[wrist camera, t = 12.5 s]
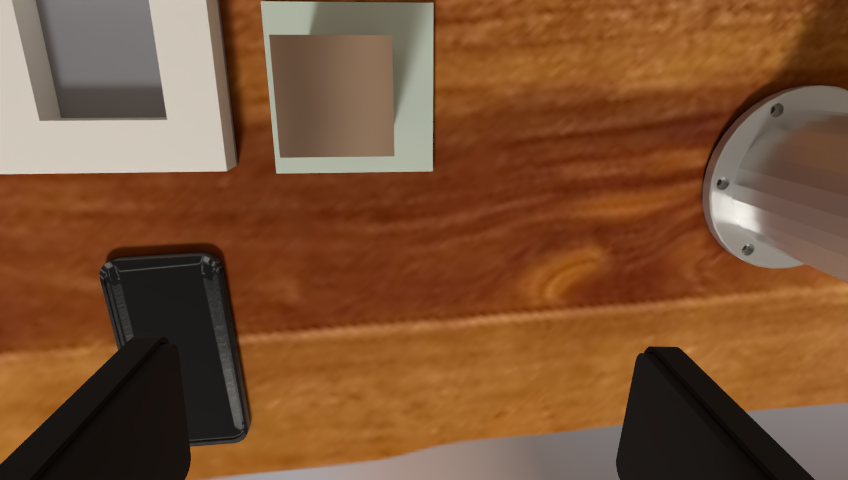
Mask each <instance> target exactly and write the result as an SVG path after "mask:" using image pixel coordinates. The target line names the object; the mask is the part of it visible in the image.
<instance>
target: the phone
mask: <svg viewBox="0 0 848 480" xmlns="http://www.w3.org/2000/svg"><path fill="white" fill-rule="evenodd" d="M99 274H100V281H101V285H102V289H103V293H104V296H105V300H106V304H107V308H108V312H109V316H110V320H111V324H112V328H113V331H114V335H115V339H116V343H117V347H118V350H119V349H120V348H122V347H123V346H124V345H125V344H126V343H127V342H128V341H129V340H130V339H131V338H132V337H134V336H150V337H166V338H167V339H168V340H169V342H170V344H175V345H176V346H177V347H178V351H179V358H180V367H181V375H182V384H183V393H184V401H185V410H186V419H187V427H188V436H189V445H190V447H191V446H203V445H216V444H228V443H236V442H240V441H242V440H243V439H244V438H245V437H246V435H247V433H248V430H249V428H250V419H249V413H248V407H247V401H246V396H245V390H244V384H243V378H242V373H241V367H240V361H239V355H238V350H237V344H236V338H235V332H234V327H233V321H232V315H231V309H230V304H229V298H228V292H227V286H226V281H225V275H224V269H223V265H222V262H221V261H220V260H219V258H218V257H216V256H215V255H213V254H211V253H207V252H196V253H179V254H162V255H145V256H128V257H117V258H114V259H112V260H110V261H109V262H107V263H106V264H104V265H103V267H102V268H101V270H100V273H99Z"/></svg>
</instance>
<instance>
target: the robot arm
mask: <svg viewBox="0 0 848 480" xmlns="http://www.w3.org/2000/svg"><path fill="white" fill-rule="evenodd" d="M702 203H703V209H704V215H705V219H706V222H707V224H708V227H709V229H710V232H711V233H712V234H713V236H714V237H715V239H716V240H717V242H718V243H719V244H720V245H721V246H722V247H723V248H724V249H726V250H727V251H728V252H729V253H730V254H732V255H734V256H736V257H738V258H739V259H741V260H743V261H745V262H748V263H750V264H753V265H755V266H760V267H766V268H790V267H795V266H800V265H804V264H807V265H809V266H811V267H813V268H816V269H818V270H820V271H822V272H825V273H827V274H829V275H831V276H834V277H836V278H838V279H840V280H843V281H845V282H847V283H848V90H846V89H843V88H840V87H833V86H823V85H811V86H799V87H794V88H789V89H785V90H782V91H780V92H777V93H775V94H772V95H770V96H768V97H766V98H764V99H763V100H761V101H760V102H758V103H756V104H755V105H753V106H751V107H750V108H749V109H748V110H747V111H746V112H744V113H743V114H742V115H741V116H740V117H739V118H738V119H736V121H735V122H734V123H733V124H732V125H731V126H730V128H729V129H728V130H727V131H726V132H725V134H724V135H723V136H722V138H721V140H720V141H719V143H718V145H717V146H716V148H715V150H714V151H713V154H712V156H711V159H710V161H709V164H708V166H707V169H706V174H705V178H704V183H703V198H702ZM190 461H191V453H190V445H189V436H188V427H187V419H186V410H185V401H184V393H183V384H182V375H181V367H180V358H179V351H178V347H177V346H176V345H175V344H170V342H169V340H168V339H167V338H166V337H150V336H134V337H132V338H131V339H130V340H129V341H128V342H127V343H126V344H125V345H124V346H123V347H122V348H120V349H119V350H118V351H117V352H116V353H115V354H114V355H113V356H112V357H111V358H110V359H109V360H108V361H107V362H106V363H105V364H104V365H103V366H102V367H101V368H100V369H99V370H98V371H97V372H96V373H95V374H94V375H93V376H91V377H90V378H89V379H88V380H87V381H86V382H85V383H84V384H83V385H82V386H81V387H80V388H79V389H78V390H77V391H76V392H75V393H74V394H73V395H72V396H71V397H70V398H69V399H68V400H67V401H66V402H65V403H64V404H62V405H61V406H60V407H59V408H58V409H57V410H56V411H55V412H54V413H53V414H52V415H51V416H50V417H49V418H48V419H47V420H46V421H45V422H44V423H43V424H42V425H41V426H40V427H39V428H38V429H37V430H36V431H35V432H34V433H32V434H31V435H30V436H29V437H28V438H27V439H26V440H25V441H24V442H23V443H22V444H21V445H20V446H19V447H18V448H17V449H16V450H15V451H14V452H13V453H12V454H11V455H10V456H9V457H8V458H7V459H6V460H5V461H3V462H2V463H1V464H0V480H185V478H186V476H187V474H188V471H189V467H190ZM616 466H617V472H618V476H619V478H620V480H815V479H814V478H813V477H811V475H809V473H807V472H806V471H805V470H804V469H803V468H802V467H801V466H800V465H799V464H798V463H797V462H796V461H795V460H794V459H793V458H792V457H791V456H790V455H789V454H788V453H787V452H786V451H785V450H784V449H783V448H782V447H781V446H780V445H779V444H778V443H777V442H776V441H775V440H774V439H773V438H772V437H771V436H770V435H769V434H767V433H766V432H765V431H764V430H763V429H762V428H761V427H760V426H759V425H758V424H757V423H756V422H755V421H754V420H753V419H752V418H751V417H750V416H749V415H748V414H747V413H746V412H745V411H744V410H743V409H742V408H741V407H740V406H739V405H738V404H737V403H736V402H735V401H734V400H733V399H732V398H731V397H730V396H728V395H727V394H726V393H725V392H724V391H723V390H722V389H721V388H720V387H719V386H718V385H717V384H716V383H715V382H714V381H713V380H712V379H711V378H710V377H709V376H708V375H707V374H706V373H705V372H704V371H703V370H702V369H701V368H700V367H699V366H698V365H697V364H696V363H695V362H694V361H693V360H692V359H691V358H689V357H688V356H687V355H686V354H685V353H684V352H683V351H682V350H681V349H680V348H678V347H648V348H647V349H646V350H645V352H644V353H640V354H639V355H638V356H637V359H636V362H635V367H634V372H633V378H632V383H631V388H630V393H629V398H628V403H627V408H626V413H625V418H624V423H623V428H622V433H621V438H620V443H619V448H618V453H617V459H616Z"/></svg>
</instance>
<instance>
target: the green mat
mask: <svg viewBox="0 0 848 480" xmlns="http://www.w3.org/2000/svg"><path fill="white" fill-rule="evenodd" d="M261 10H262V21H263V32H264V43H265V54H266V65H267V76H268V86H269V97H270V108H271V119H272V130H273V141H274V152H275V163H276V173H342V172H416V171H433V14H434V3H403V2H289V1H261ZM269 35H392V53H393V105H394V156H385V157H302V158H280V152H279V141H278V130H277V119H276V108H275V96H274V85H273V74H272V63H271V52H270V40H269Z"/></svg>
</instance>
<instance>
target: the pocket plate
mask: <svg viewBox="0 0 848 480" xmlns="http://www.w3.org/2000/svg"><path fill="white" fill-rule="evenodd" d="M236 165H238V159H237V150H236V142H235V133H234V124H233V115H232V107H231V98H230V89H229V81H228V72H227V63H226V55H225V46H224V37H223V28H222V20H221V11H220V2H219V0H0V174H50V173H125V172H201V171H228V170H230V169H231V168H233V167H235V166H236Z"/></svg>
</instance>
